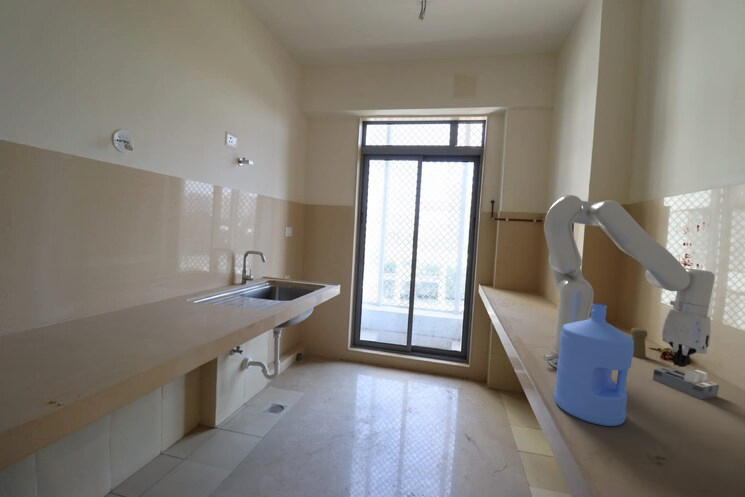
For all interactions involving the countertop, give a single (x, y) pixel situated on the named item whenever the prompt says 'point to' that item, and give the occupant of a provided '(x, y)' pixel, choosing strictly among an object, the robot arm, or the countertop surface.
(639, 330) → the cork
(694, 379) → the inner tab
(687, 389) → the switch block
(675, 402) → the countertop surface
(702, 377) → the outer tab
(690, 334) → the robot arm
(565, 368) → the water jug
